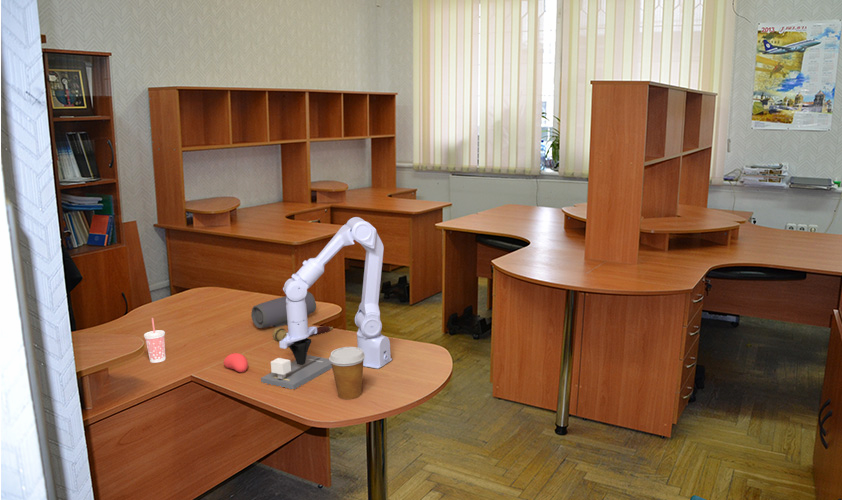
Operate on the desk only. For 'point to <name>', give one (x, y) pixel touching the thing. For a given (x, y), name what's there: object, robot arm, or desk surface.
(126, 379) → the desk surface
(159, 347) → the beverage cup
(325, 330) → the gavel
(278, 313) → the bluetooth speaker
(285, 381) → the grey slider base
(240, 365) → the red kidney bean
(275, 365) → the fader
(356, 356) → the disposable coffee cup
